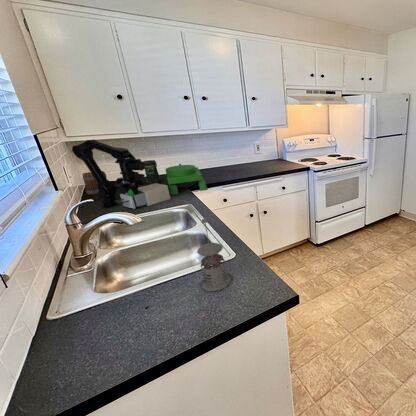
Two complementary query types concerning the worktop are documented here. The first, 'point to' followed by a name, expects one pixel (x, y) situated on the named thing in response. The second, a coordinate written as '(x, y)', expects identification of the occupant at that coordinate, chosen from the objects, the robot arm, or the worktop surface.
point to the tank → (184, 177)
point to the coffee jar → (151, 172)
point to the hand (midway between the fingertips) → (133, 194)
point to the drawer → (133, 200)
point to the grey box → (155, 193)
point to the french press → (214, 276)
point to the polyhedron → (131, 193)
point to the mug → (91, 183)
